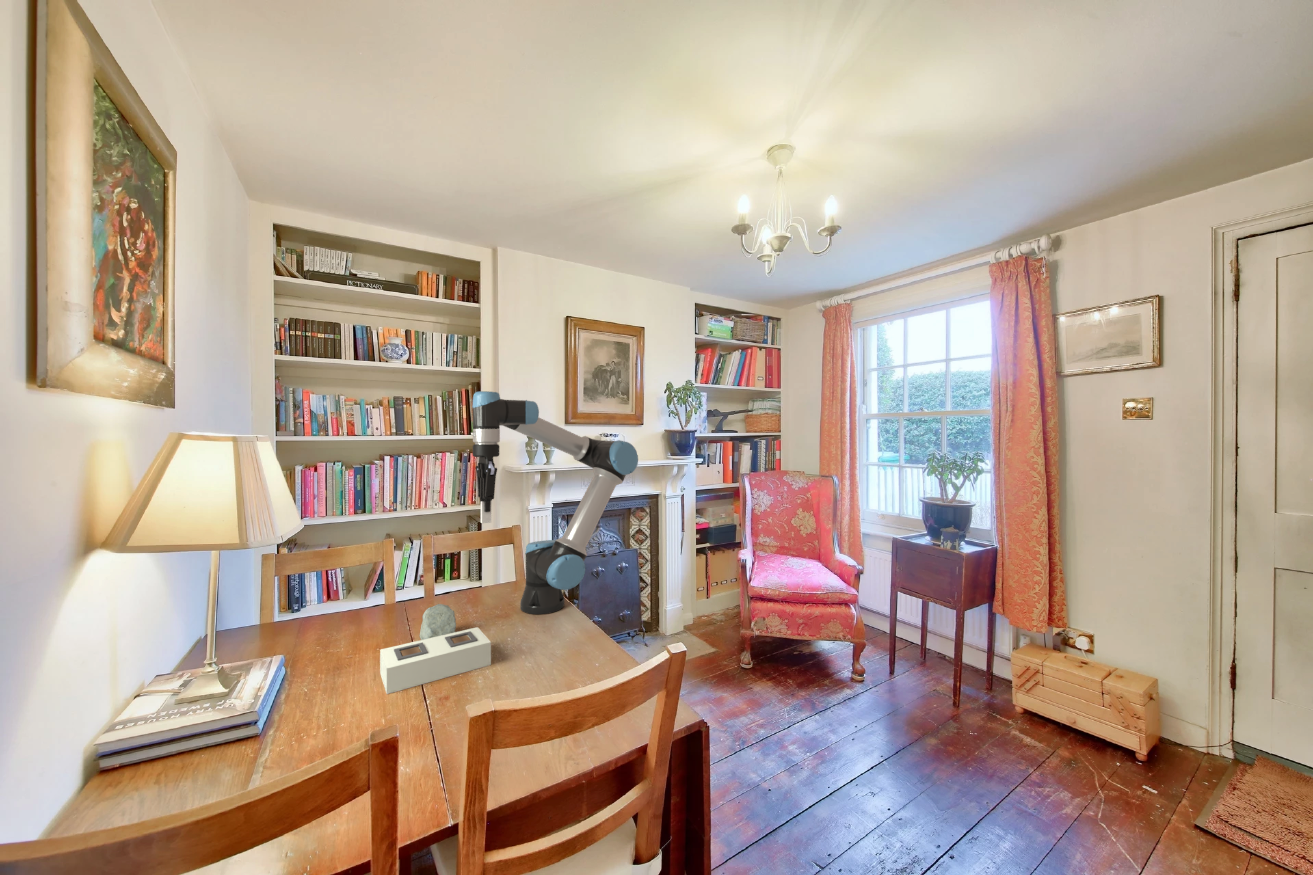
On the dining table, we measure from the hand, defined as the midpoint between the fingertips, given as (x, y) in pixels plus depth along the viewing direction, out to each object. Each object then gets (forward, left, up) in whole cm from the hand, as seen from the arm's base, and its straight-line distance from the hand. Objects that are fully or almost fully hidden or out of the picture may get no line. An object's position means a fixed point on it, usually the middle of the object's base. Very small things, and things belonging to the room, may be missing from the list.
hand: (485, 522), depth 141 cm
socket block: (+16, +12, -34) cm, 40 cm away
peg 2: (+10, +12, -34) cm, 38 cm away
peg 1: (+22, +12, -34) cm, 42 cm away
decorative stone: (+12, -6, -35) cm, 37 cm away
